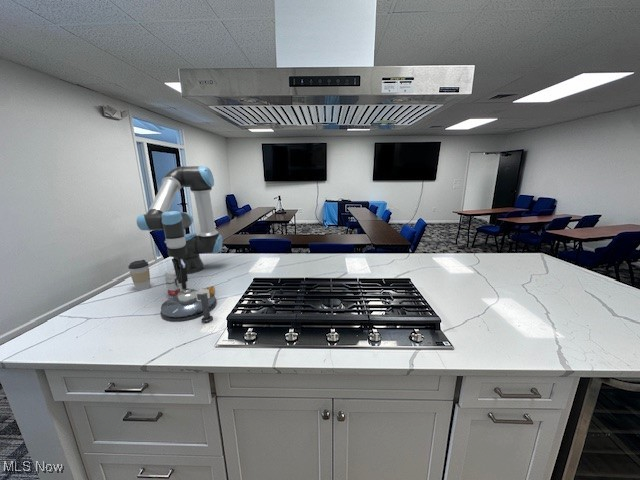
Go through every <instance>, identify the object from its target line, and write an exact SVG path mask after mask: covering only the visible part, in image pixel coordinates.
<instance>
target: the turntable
mask: <svg viewBox="0 0 640 480" xmlns="http://www.w3.org/2000/svg"><path fill="white" fill-rule="evenodd" d="M202 289H209V294H210V298H208V303H209V308H211V307H212V306H213V305H214V303H215V298H216V296H215V295H216V292H215V291H216V290H215V286H214V285H212V286H207V287H203V288H202ZM198 291H199V290H197V292H198ZM160 312H162V315H164V316H165V317H168V318H185V317H190V316H194V315H197V314H200V313H202V312H203V309H202V302H201V301H197V302H195V303H193V304H190V305H180V304H179V301H178V295H173V296H171V297H169V298H168V299H166V300H165V301H164V302H162V304H161V305H160Z"/></svg>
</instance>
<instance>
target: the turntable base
mask: <svg viewBox="0 0 640 480" xmlns="http://www.w3.org/2000/svg"><path fill="white" fill-rule="evenodd" d="M217 301H218V300H217V298H216V297H215V303H214V305H213V306H212V307H211V308H209V310H210V312H211V311H213V310H214V309H215V308H216V307H217V304H218V302H217ZM160 317H161V319H162V320H164V321H166V322H170V323H171V322H173V323H175V322H177V323H178V322H186V321H187V322H188V321H191V320H195V319H197V318H200V317H204V316H203V312H202V313H200V314H197V315H194V316H190V317H185V318H168V317H165V316H164V315H162V312H161V311H160Z"/></svg>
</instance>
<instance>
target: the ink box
mask: <svg viewBox="0 0 640 480" xmlns="http://www.w3.org/2000/svg"><path fill="white" fill-rule="evenodd" d="M164 277H165V283H166V288H167V294H168V295H169V296H176V295H178V293H180V287H179V283H178V282H179V281H178V279H177V278H176V273H175V269H174V268H173V269H172V270H169V271H167V272H165V273H164ZM187 282H188V281H187ZM187 282H186V284H187ZM187 285H188V284H187ZM187 289H189V288H188V287H187Z"/></svg>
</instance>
